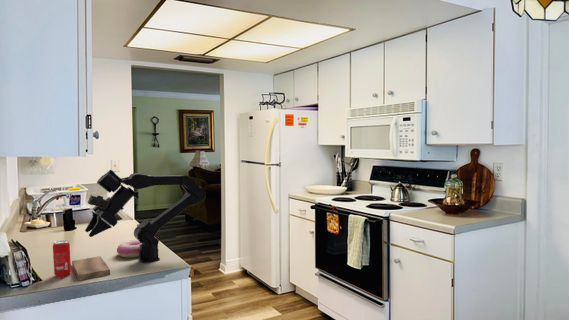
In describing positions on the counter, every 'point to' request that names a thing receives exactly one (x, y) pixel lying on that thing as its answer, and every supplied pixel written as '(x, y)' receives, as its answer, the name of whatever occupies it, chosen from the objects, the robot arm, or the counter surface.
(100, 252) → the counter surface
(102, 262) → the walnut board
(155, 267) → the counter surface
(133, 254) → the donut
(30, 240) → the counter surface
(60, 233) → the counter surface
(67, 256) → the beverage can
